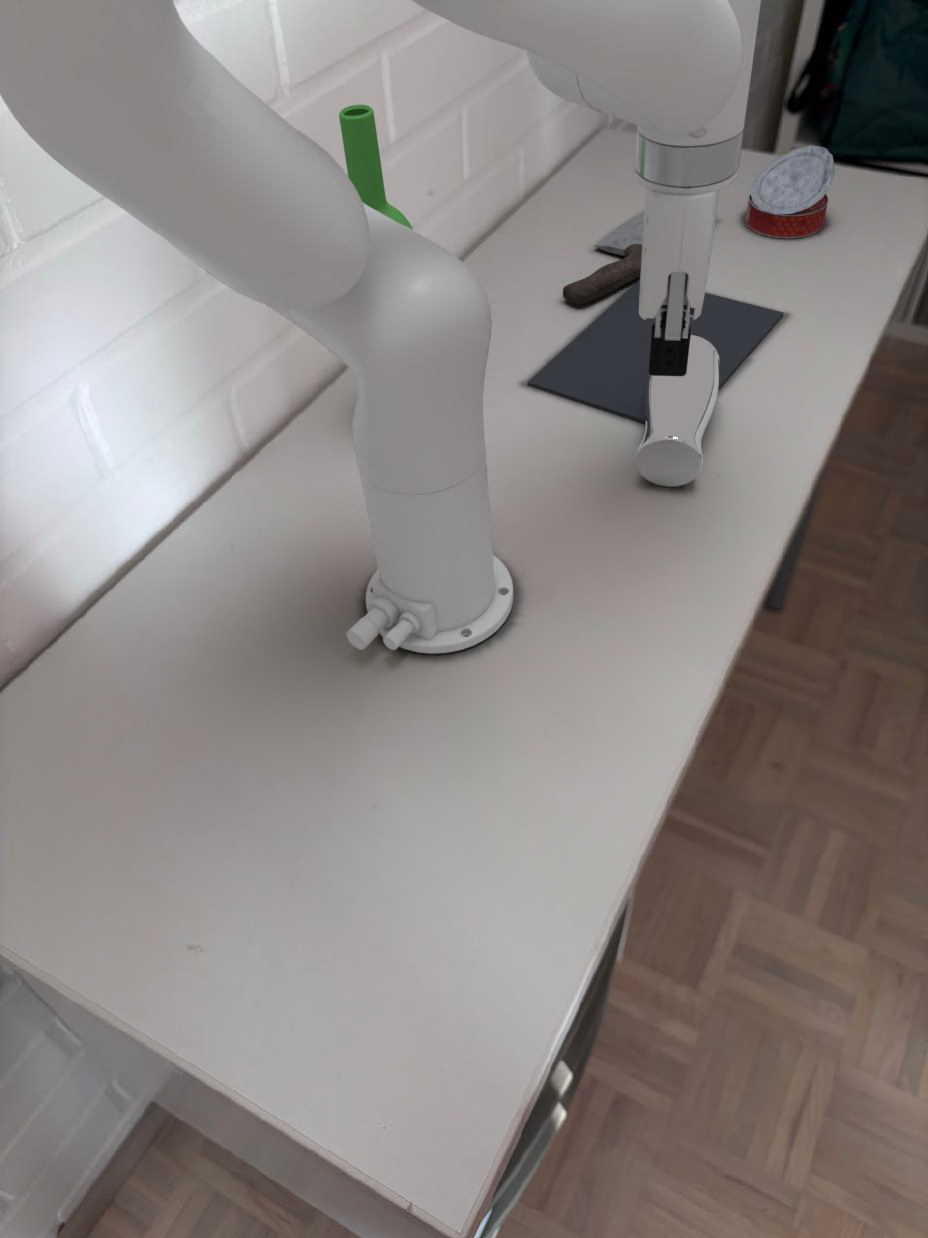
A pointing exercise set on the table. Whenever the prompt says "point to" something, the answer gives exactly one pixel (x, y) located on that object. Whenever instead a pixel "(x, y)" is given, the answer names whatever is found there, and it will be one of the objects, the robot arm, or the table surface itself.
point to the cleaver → (612, 264)
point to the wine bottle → (366, 159)
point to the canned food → (791, 194)
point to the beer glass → (679, 418)
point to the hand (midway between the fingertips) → (667, 370)
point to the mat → (645, 351)
